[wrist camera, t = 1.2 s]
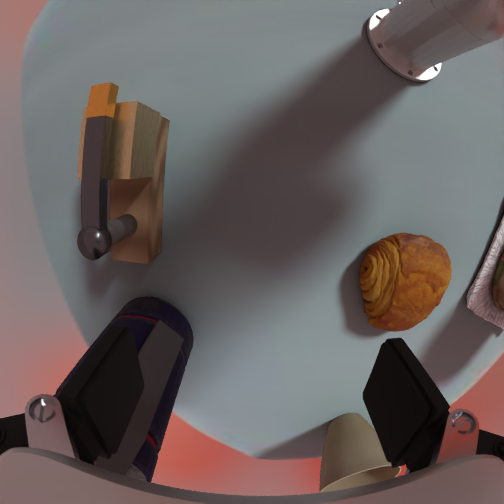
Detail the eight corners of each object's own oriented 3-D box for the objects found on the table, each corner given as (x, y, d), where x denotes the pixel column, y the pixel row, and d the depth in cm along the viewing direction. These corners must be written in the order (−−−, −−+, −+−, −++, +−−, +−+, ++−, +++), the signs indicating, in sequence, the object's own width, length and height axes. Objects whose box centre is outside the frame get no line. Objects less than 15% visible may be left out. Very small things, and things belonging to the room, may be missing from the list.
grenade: (166, 369, 41) (109, 529, 12) (110, 323, 38) (8, 466, 10) (220, 323, 38) (178, 538, 9) (155, 267, 35) (11, 448, 7)
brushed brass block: (112, 116, 25) (84, 107, 19) (159, 113, 25) (137, 101, 19) (107, 175, 27) (77, 179, 21) (153, 176, 27) (129, 179, 21)
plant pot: (321, 402, 43) (337, 473, 28) (389, 398, 43) (416, 457, 28) (301, 443, 47) (309, 503, 32) (361, 439, 47) (378, 492, 32)
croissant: (370, 214, 35) (389, 221, 27) (451, 247, 34) (478, 260, 26) (336, 306, 39) (344, 333, 31) (416, 328, 38) (435, 353, 30)
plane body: (133, 121, 30) (86, 107, 19) (169, 120, 30) (131, 101, 19) (128, 247, 35) (85, 278, 24) (161, 251, 35) (125, 285, 24)
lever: (95, 90, 18) (86, 86, 17) (122, 86, 18) (114, 81, 17) (87, 252, 23) (78, 258, 21) (113, 256, 23) (104, 261, 21)
